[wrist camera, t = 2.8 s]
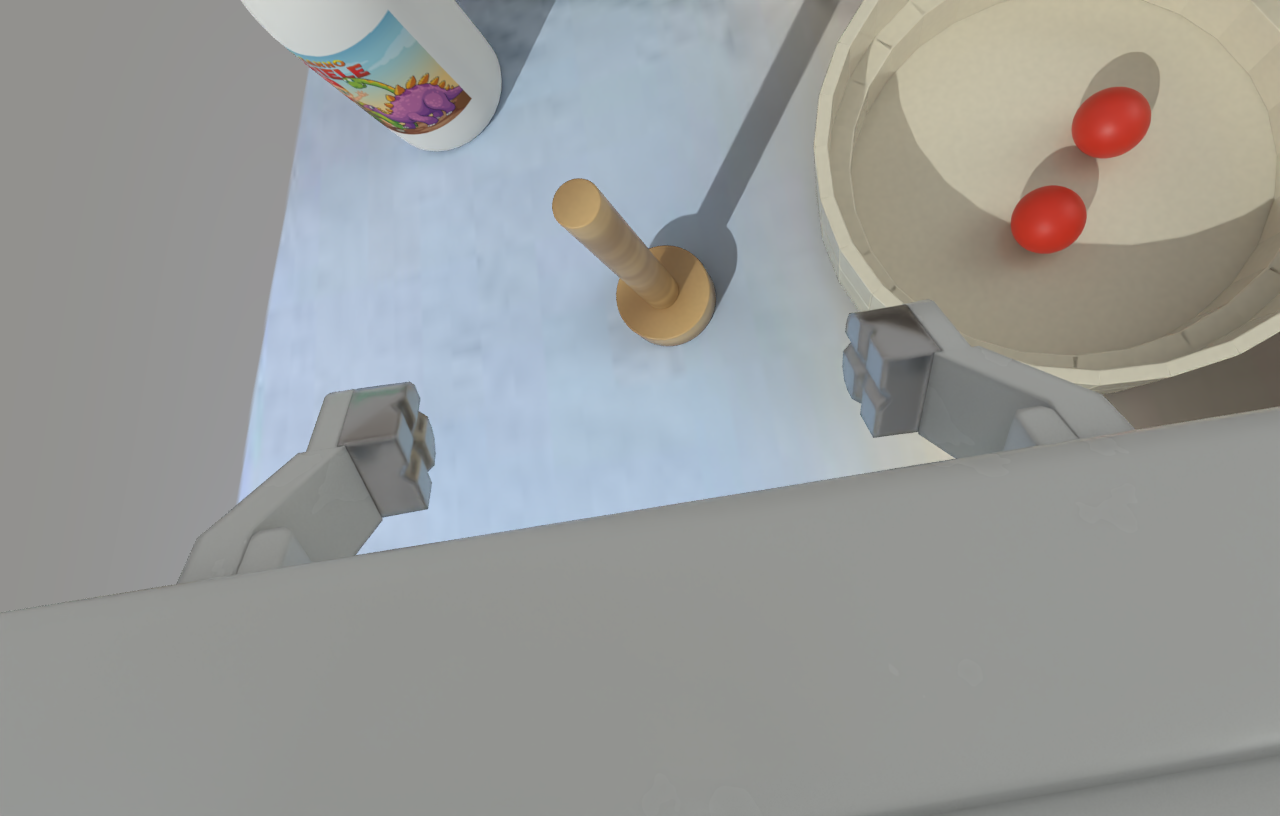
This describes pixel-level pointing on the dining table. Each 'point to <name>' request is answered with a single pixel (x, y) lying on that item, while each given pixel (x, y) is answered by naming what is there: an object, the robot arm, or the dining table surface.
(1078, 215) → the tomato
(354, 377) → the dining table surface
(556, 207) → the wooden peg stand
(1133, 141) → the tomato
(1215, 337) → the bowl
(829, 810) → the robot arm
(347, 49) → the milk bottle
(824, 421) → the dining table surface
